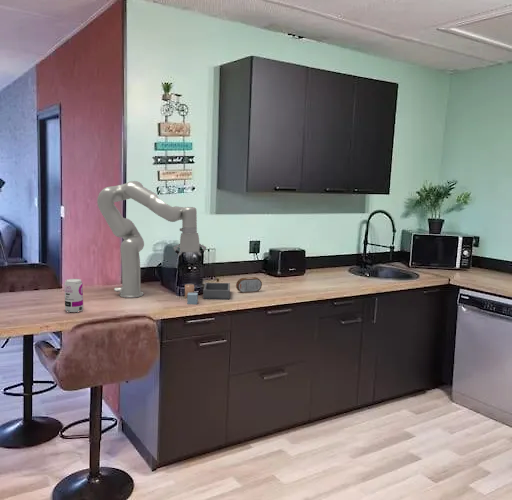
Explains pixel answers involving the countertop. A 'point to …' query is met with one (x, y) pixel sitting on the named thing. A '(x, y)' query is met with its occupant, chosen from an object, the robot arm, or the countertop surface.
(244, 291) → the tin
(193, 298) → the cube
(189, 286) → the cylinder
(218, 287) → the tote
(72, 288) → the supplement can
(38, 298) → the countertop surface
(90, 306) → the countertop surface
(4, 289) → the countertop surface
